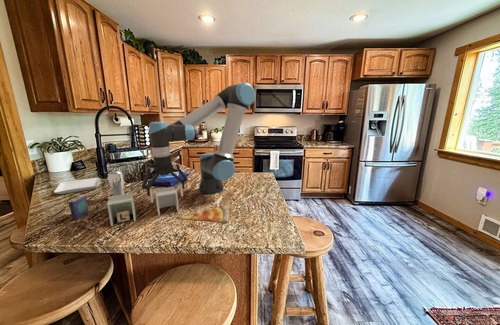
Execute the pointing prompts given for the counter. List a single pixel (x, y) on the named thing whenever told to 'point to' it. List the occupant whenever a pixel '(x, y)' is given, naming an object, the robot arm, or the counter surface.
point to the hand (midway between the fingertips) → (167, 198)
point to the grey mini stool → (166, 198)
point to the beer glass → (116, 182)
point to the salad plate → (77, 186)
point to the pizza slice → (211, 215)
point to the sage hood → (120, 205)
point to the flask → (78, 207)
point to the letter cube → (123, 214)
